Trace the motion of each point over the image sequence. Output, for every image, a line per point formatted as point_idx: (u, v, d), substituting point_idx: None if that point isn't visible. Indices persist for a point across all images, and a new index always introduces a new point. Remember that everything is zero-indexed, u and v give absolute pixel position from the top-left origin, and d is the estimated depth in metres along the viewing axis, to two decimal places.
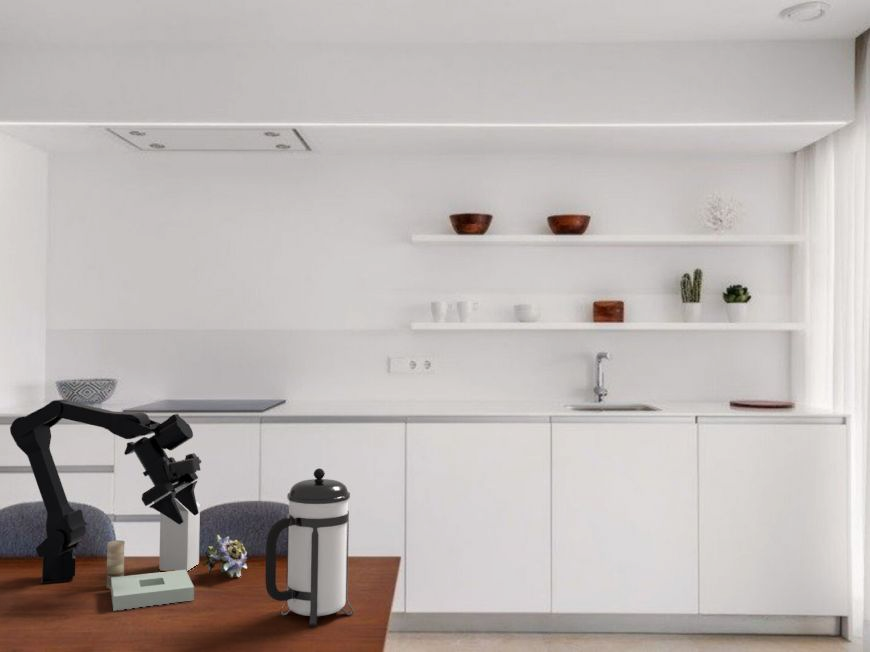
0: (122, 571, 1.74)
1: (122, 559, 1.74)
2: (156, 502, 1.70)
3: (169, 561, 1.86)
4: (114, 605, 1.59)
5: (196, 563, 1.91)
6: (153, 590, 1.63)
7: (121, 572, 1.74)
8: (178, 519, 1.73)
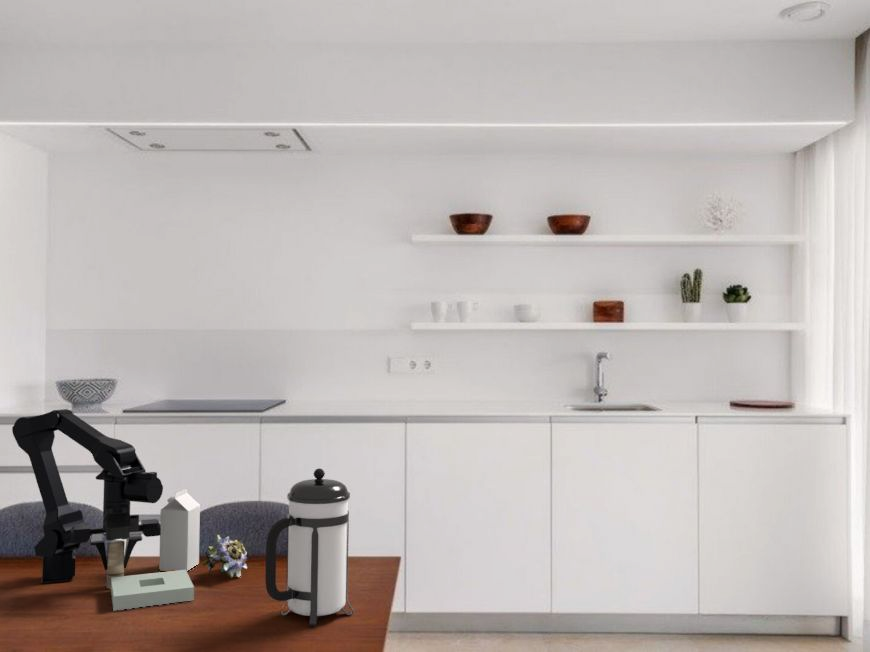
0: (122, 571, 1.74)
1: (122, 559, 1.74)
2: (90, 540, 1.73)
3: (169, 561, 1.86)
4: (114, 605, 1.59)
5: (196, 563, 1.91)
6: (153, 590, 1.63)
7: (121, 572, 1.74)
8: None
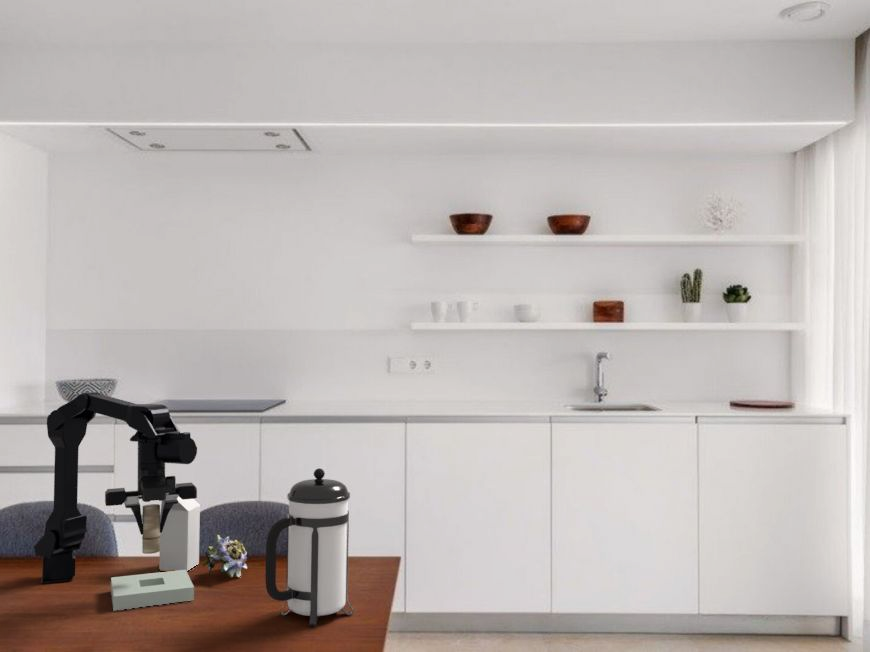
0: (158, 535, 1.69)
1: (158, 523, 1.69)
2: (124, 503, 1.68)
3: (169, 561, 1.86)
4: (114, 605, 1.59)
5: (196, 563, 1.91)
6: (153, 590, 1.63)
7: (157, 536, 1.68)
8: (139, 529, 1.68)
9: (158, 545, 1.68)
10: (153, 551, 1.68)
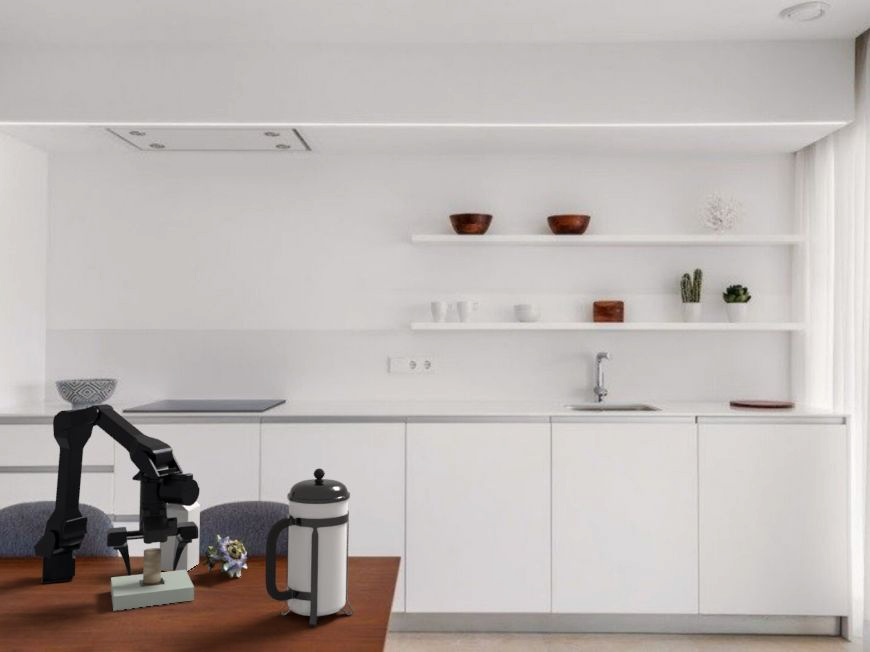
0: (159, 580, 1.68)
1: (159, 567, 1.68)
2: None
3: (169, 561, 1.86)
4: (114, 605, 1.59)
5: (196, 563, 1.91)
6: (153, 590, 1.63)
7: (158, 581, 1.68)
8: (127, 570, 1.66)
9: None
10: None
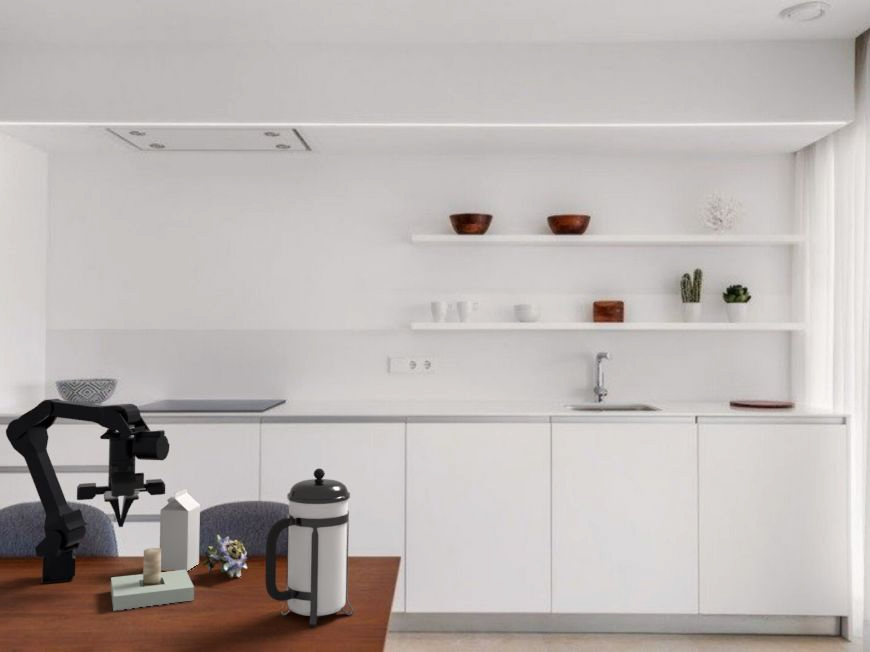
0: (159, 580, 1.68)
1: (159, 567, 1.68)
2: (104, 497, 1.76)
3: (169, 561, 1.86)
4: (114, 605, 1.59)
5: (196, 563, 1.91)
6: (153, 590, 1.63)
7: (158, 581, 1.68)
8: None
9: None
10: None
